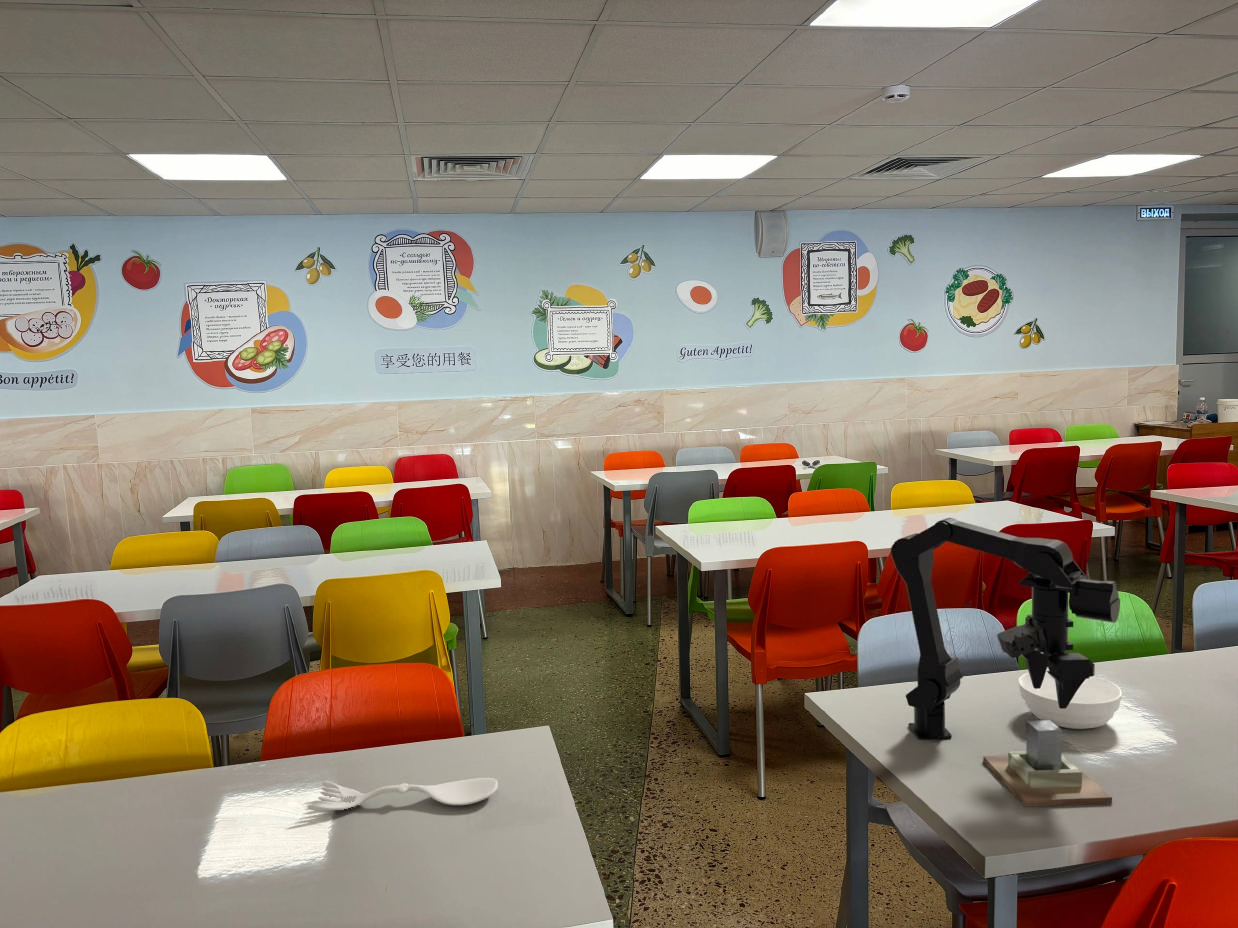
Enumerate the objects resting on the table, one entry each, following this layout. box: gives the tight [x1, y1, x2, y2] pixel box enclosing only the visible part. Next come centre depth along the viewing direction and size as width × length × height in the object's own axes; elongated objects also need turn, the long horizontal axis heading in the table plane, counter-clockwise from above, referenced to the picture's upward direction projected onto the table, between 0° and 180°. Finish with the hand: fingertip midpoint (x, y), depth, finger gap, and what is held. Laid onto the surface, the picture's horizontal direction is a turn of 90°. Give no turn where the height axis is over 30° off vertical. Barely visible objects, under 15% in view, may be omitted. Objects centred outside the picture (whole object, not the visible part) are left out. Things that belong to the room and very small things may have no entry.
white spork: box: [307, 777, 499, 812], centre depth 145 cm, size 9×32×4 cm, turn 92°
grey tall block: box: [1025, 719, 1063, 771], centre depth 141 cm, size 4×4×9 cm
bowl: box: [1017, 669, 1123, 730], centre depth 165 cm, size 18×18×7 cm
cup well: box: [982, 750, 1113, 808], centre depth 141 cm, size 16×14×4 cm
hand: (1049, 697), depth 146 cm, fingers open, 9 cm apart
